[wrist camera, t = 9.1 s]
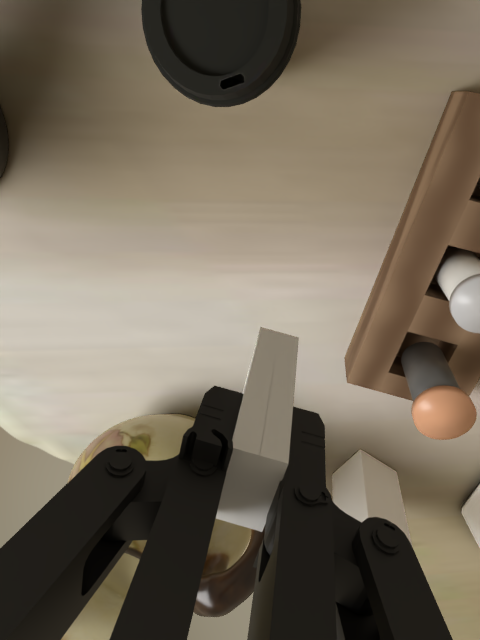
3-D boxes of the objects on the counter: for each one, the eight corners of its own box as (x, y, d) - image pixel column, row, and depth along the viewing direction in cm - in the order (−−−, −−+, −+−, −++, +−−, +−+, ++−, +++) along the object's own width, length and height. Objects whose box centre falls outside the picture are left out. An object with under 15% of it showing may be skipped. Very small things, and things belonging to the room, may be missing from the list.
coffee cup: (290, -51, 36) (274, -135, 22) (317, 83, 40) (317, 77, 26) (178, -4, 38) (104, -55, 25) (214, 117, 42) (166, 128, 29)
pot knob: (389, 371, 46) (404, 430, 38) (408, 332, 43) (428, 386, 36) (435, 384, 46) (460, 446, 38) (456, 345, 43) (487, 402, 35)
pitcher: (92, 473, 67) (-17, 660, 45) (124, 348, 56) (1, 514, 34) (231, 524, 67) (193, 733, 45) (290, 410, 56) (277, 613, 34)
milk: (360, 448, 57) (382, 629, 38) (397, 471, 58) (438, 661, 38) (330, 474, 60) (336, 657, 40) (366, 497, 61) (390, 686, 41)
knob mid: (419, 282, 44) (441, 324, 36) (440, 236, 42) (469, 270, 34) (467, 295, 44) (500, 339, 36) (491, 250, 42) (531, 286, 34)
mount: (344, 357, 51) (347, 382, 47) (451, 91, 38) (469, 91, 34) (446, 385, 51) (458, 413, 47) (590, 126, 38) (626, 130, 33)
